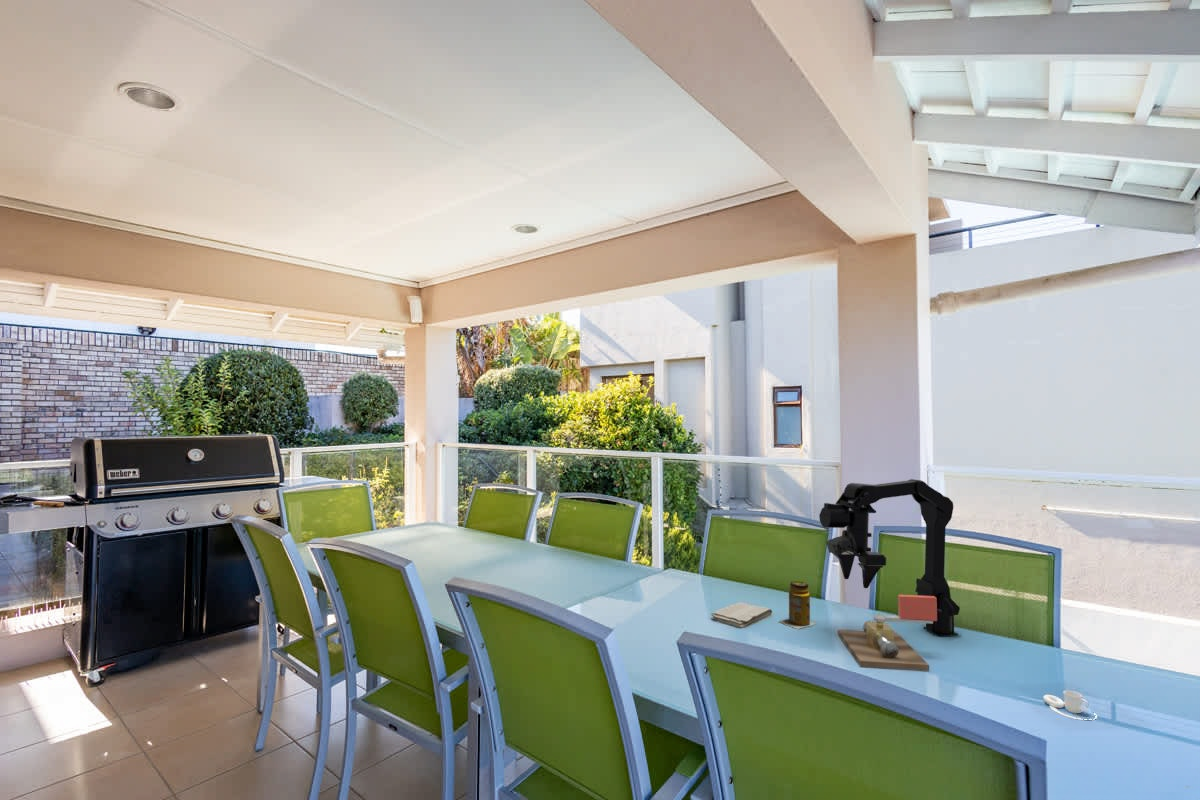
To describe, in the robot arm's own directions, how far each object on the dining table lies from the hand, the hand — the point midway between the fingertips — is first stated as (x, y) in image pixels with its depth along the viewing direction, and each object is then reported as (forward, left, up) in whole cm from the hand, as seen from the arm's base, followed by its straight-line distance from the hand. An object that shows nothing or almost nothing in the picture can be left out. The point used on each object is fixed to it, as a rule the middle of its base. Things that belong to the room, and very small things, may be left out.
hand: (855, 583), depth 165 cm
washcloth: (+26, -20, -16) cm, 37 cm away
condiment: (+11, -13, -16) cm, 23 cm away
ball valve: (-1, +10, -14) cm, 17 cm away
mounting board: (-1, +10, -15) cm, 18 cm away
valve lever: (-7, +11, -7) cm, 15 cm away
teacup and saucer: (-25, +42, -16) cm, 51 cm away
